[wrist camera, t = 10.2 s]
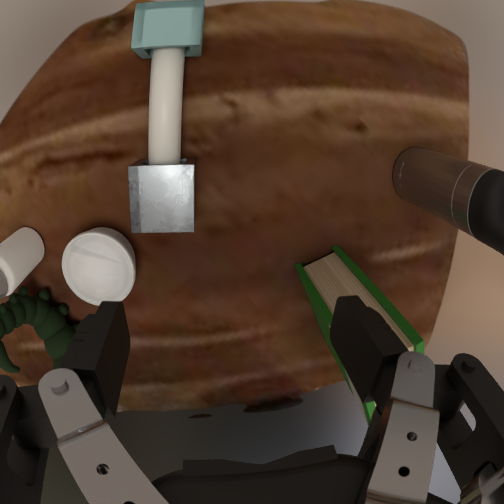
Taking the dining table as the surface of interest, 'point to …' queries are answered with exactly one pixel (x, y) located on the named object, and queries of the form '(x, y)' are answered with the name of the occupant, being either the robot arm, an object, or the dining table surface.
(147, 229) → the sleeve
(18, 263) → the can
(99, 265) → the ramekin
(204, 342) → the dining table surface
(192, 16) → the socket
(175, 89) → the tube
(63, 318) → the dark green lumpy piece
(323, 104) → the dining table surface
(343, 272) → the hardback book
